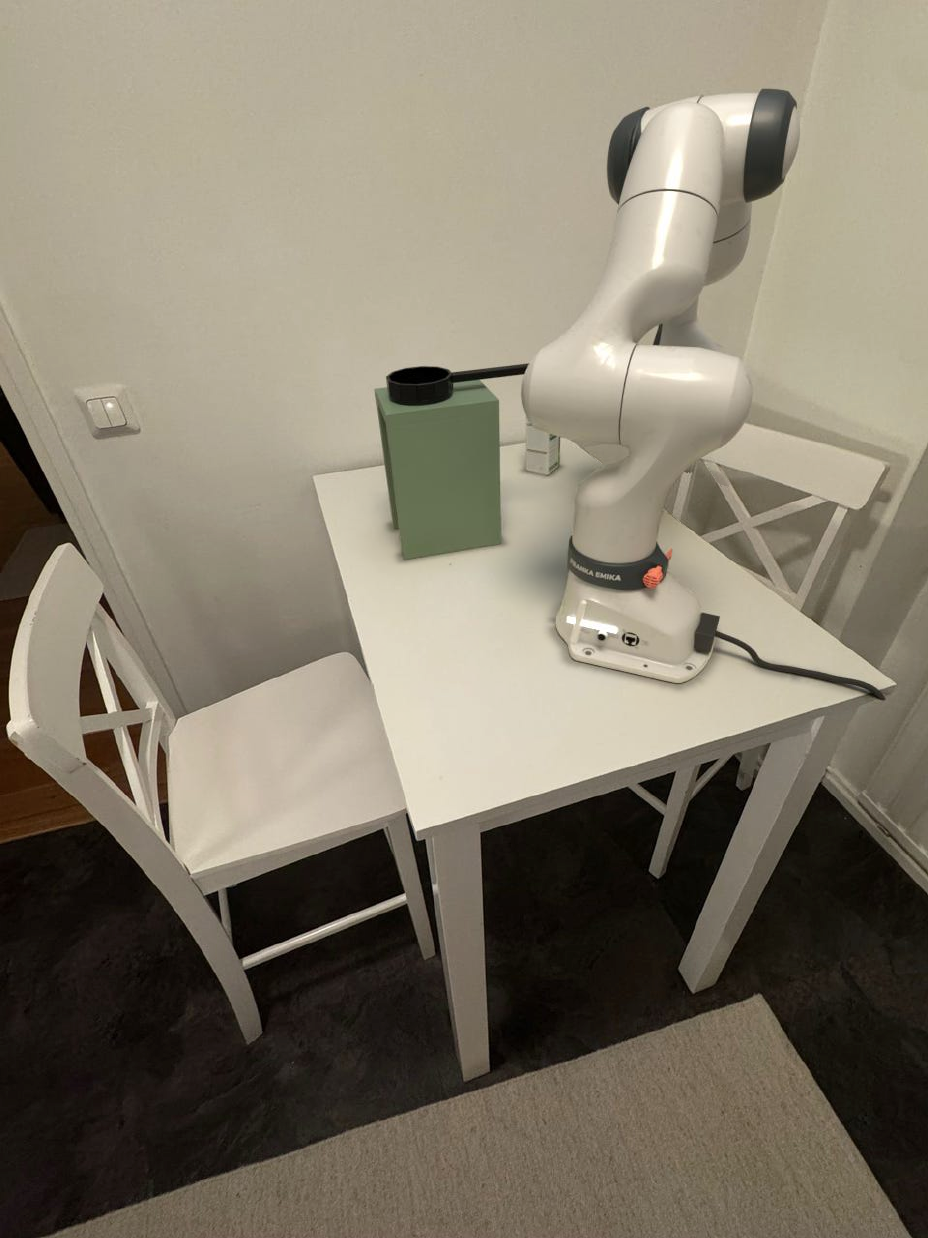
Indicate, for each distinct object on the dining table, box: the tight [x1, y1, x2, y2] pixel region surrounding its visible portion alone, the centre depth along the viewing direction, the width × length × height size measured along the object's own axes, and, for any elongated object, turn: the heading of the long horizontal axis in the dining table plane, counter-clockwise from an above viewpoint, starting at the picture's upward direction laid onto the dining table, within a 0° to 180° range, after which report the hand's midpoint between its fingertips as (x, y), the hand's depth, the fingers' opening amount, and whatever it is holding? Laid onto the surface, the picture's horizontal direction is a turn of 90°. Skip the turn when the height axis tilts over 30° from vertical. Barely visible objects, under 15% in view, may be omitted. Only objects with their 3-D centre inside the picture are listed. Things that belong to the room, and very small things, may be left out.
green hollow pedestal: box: [373, 380, 502, 561], centre depth 107 cm, size 18×14×26 cm
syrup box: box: [525, 416, 561, 476], centre depth 132 cm, size 6×6×14 cm
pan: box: [385, 362, 530, 406], centre depth 99 cm, size 26×10×3 cm, turn 104°
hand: (581, 393), depth 104 cm, fingers open, 8 cm apart
